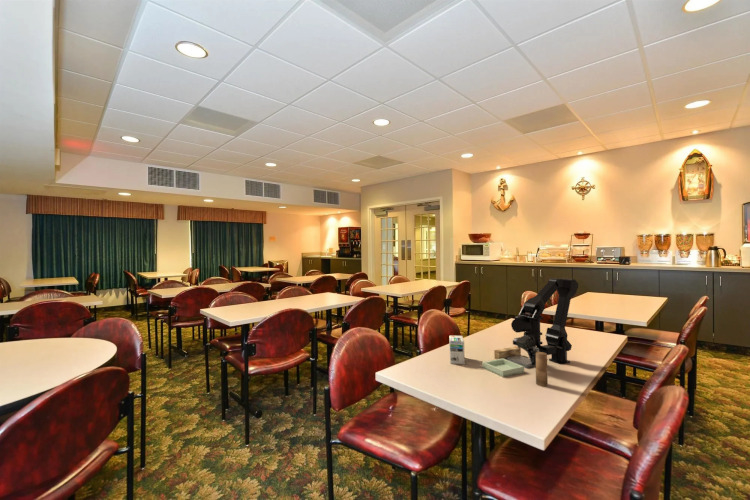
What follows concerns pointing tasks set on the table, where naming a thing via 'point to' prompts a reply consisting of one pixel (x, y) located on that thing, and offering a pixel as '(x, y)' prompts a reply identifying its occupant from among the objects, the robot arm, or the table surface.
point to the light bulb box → (456, 349)
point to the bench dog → (507, 352)
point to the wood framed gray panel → (520, 361)
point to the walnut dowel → (541, 369)
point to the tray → (503, 367)
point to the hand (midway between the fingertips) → (533, 364)
